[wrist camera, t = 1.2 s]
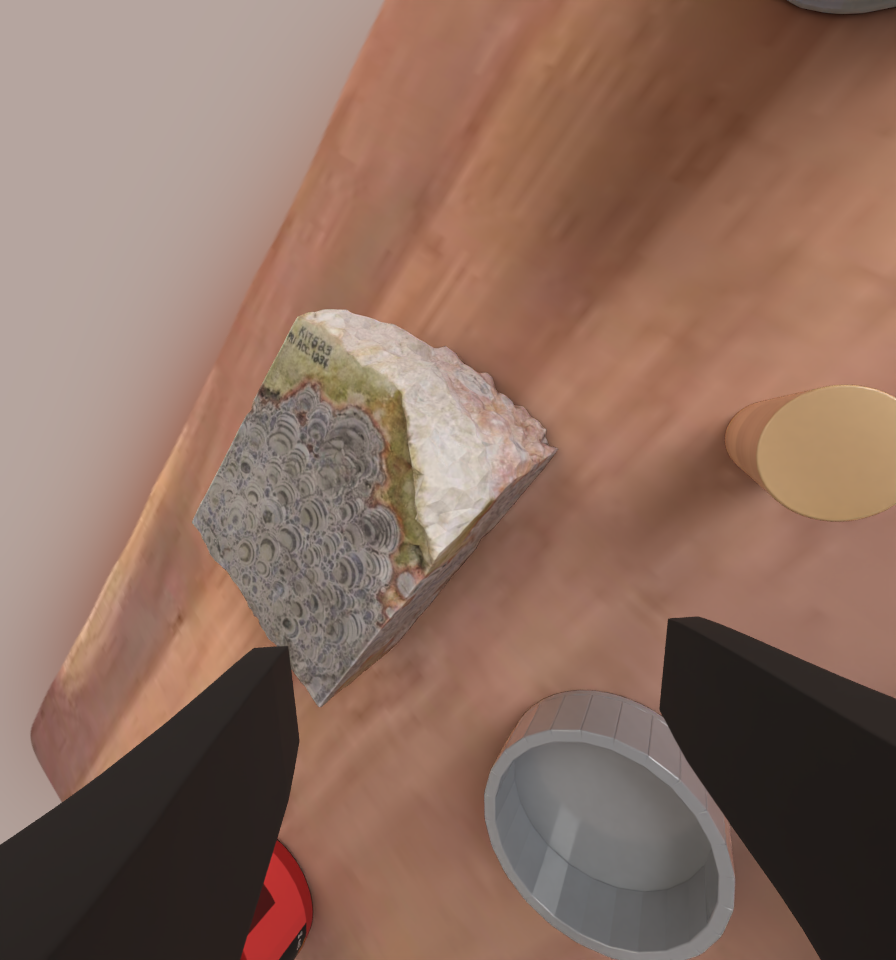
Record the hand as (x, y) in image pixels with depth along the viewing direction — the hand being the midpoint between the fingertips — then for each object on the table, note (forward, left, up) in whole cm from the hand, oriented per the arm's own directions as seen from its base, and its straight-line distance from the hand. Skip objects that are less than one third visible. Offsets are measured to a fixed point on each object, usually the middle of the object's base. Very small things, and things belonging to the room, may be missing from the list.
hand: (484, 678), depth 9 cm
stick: (-7, -1, -12) cm, 14 cm away
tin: (+5, +10, -12) cm, 16 cm away
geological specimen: (+8, -6, -12) cm, 16 cm away
